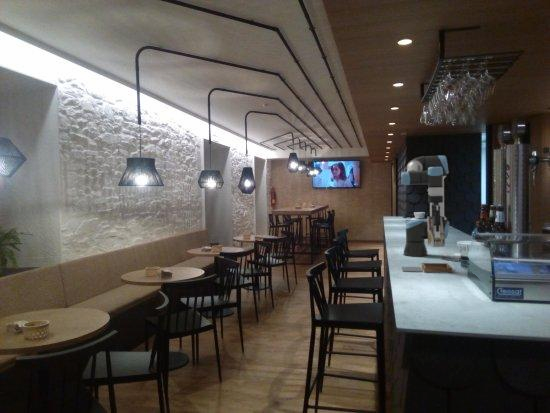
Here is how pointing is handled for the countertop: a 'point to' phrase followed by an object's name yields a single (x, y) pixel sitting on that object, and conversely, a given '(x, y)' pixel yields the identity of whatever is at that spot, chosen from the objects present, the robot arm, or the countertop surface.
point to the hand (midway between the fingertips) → (436, 236)
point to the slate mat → (411, 269)
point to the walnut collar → (436, 268)
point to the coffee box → (431, 232)
